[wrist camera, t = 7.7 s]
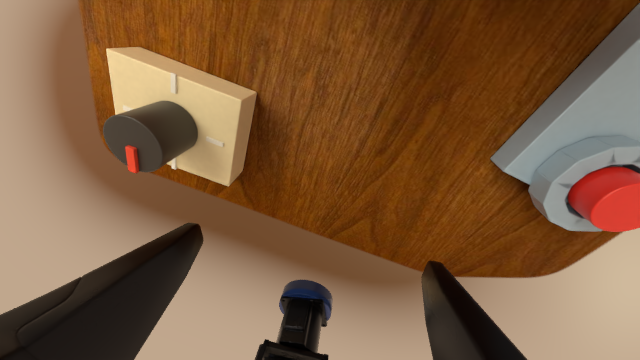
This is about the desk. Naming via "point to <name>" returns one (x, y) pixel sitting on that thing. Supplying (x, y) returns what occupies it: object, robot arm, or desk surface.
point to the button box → (581, 127)
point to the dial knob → (150, 135)
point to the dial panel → (188, 108)
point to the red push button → (608, 198)
